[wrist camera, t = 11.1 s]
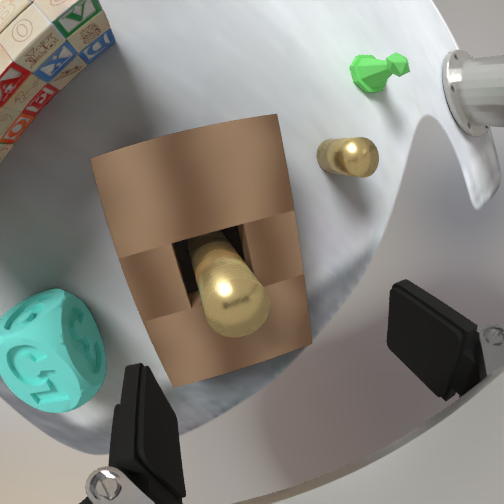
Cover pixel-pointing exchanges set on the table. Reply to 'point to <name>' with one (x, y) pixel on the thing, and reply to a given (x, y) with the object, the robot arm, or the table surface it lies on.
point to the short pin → (348, 156)
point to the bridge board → (202, 222)
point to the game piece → (377, 71)
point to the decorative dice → (52, 351)
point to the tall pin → (227, 286)
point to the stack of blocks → (43, 55)
